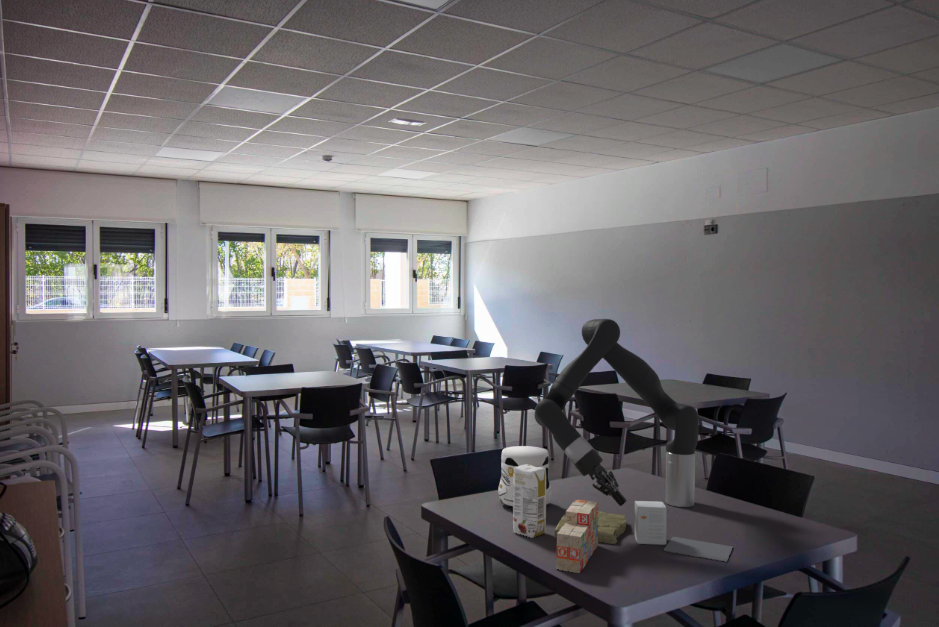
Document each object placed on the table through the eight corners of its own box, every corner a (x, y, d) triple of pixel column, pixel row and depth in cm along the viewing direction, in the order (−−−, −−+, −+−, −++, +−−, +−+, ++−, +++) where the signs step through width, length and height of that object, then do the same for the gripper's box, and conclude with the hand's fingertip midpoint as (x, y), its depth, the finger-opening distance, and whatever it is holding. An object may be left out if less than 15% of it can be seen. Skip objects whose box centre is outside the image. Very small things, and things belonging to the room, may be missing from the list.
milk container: (487, 504, 221) (487, 450, 221) (523, 495, 233) (523, 443, 232) (526, 517, 208) (526, 459, 208) (562, 506, 220) (562, 451, 220)
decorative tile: (553, 538, 191) (553, 526, 191) (567, 517, 209) (567, 506, 209) (620, 547, 184) (620, 534, 184) (628, 524, 203) (628, 513, 203)
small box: (662, 538, 190) (663, 501, 190) (666, 545, 185) (667, 507, 185) (634, 537, 191) (634, 500, 191) (636, 544, 186) (637, 506, 185)
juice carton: (533, 540, 188) (533, 472, 188) (509, 532, 194) (509, 467, 193) (549, 533, 193) (549, 467, 193) (525, 526, 199) (526, 462, 199)
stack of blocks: (580, 574, 164) (581, 524, 164) (555, 570, 167) (556, 521, 167) (598, 545, 184) (598, 501, 184) (575, 542, 187) (576, 498, 186)
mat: (672, 537, 191) (672, 536, 191) (732, 547, 183) (732, 546, 183) (663, 551, 180) (663, 549, 180) (726, 562, 173) (726, 561, 173)
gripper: (584, 452, 190) (626, 501, 184) (598, 443, 202) (639, 490, 196) (566, 468, 193) (607, 517, 187) (581, 459, 204) (621, 505, 199)
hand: (623, 503), depth 191 cm, fingers closed
